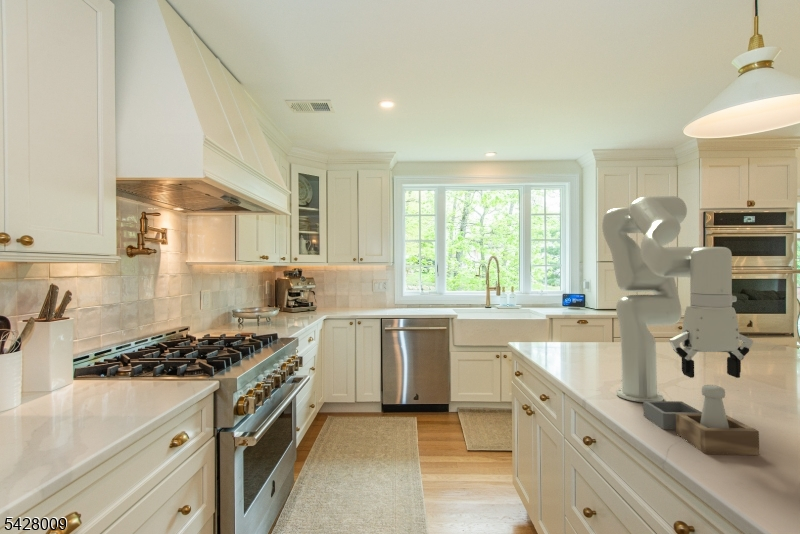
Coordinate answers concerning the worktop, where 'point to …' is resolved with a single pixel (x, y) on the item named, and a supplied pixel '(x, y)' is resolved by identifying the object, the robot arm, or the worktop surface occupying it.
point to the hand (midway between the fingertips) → (710, 376)
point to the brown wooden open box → (718, 436)
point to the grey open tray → (666, 412)
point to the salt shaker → (713, 407)
